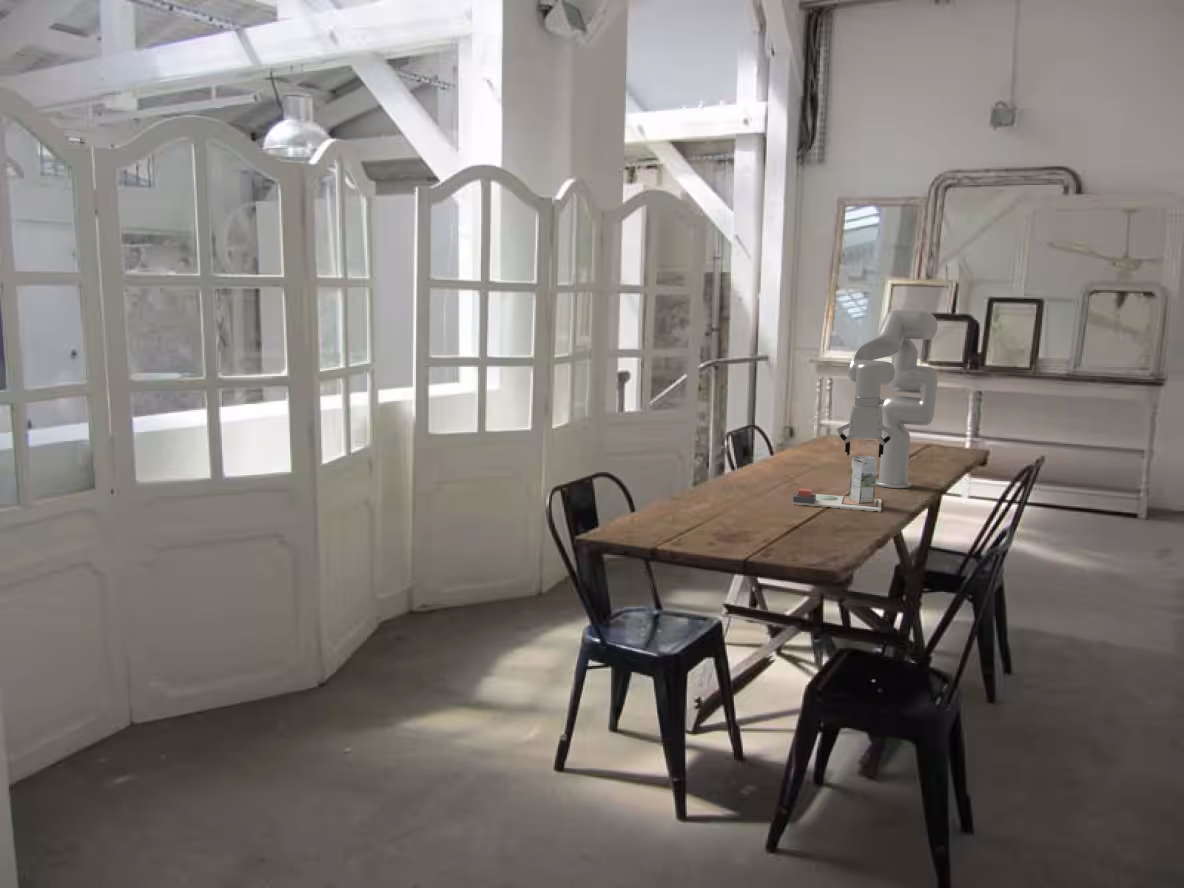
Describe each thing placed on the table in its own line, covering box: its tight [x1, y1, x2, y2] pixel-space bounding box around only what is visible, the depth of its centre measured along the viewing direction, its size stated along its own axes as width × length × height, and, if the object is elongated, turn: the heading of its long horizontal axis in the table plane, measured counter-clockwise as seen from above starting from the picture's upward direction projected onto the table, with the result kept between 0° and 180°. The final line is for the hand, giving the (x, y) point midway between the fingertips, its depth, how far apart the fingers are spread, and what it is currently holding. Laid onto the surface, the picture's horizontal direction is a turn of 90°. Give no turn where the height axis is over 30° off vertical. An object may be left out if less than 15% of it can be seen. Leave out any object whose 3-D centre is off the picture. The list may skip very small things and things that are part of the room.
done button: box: [797, 487, 813, 497], centre depth 313 cm, size 4×4×2 cm
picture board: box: [791, 492, 882, 513], centre depth 314 cm, size 16×27×3 cm, turn 73°
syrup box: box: [848, 455, 878, 503], centre depth 312 cm, size 6×6×14 cm
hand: (863, 455), depth 311 cm, fingers open, 9 cm apart
